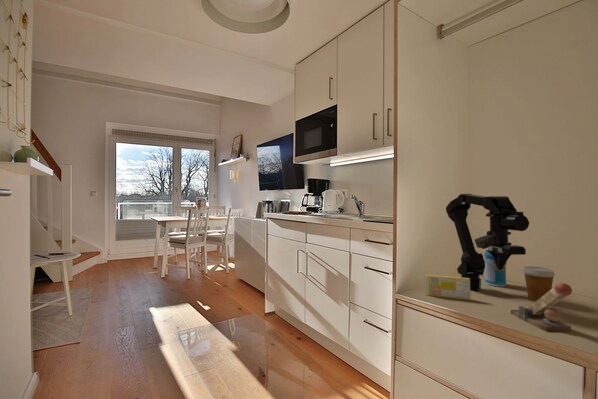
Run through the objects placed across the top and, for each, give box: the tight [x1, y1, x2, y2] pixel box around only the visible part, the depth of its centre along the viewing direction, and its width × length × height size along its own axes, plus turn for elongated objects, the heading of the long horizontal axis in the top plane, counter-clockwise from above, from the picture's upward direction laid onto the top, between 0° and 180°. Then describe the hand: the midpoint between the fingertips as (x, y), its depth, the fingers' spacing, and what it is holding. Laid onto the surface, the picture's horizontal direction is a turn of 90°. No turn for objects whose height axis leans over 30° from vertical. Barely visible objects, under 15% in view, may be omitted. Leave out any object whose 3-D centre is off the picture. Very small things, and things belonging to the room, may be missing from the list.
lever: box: [527, 282, 573, 315], centre depth 87 cm, size 4×4×17 cm
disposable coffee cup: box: [522, 265, 556, 302], centre depth 111 cm, size 10×10×12 cm
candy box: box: [424, 274, 472, 301], centre depth 115 cm, size 16×2×8 cm, turn 65°
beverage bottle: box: [483, 247, 507, 287], centre depth 132 cm, size 8×8×20 cm
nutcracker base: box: [510, 305, 572, 332], centre depth 91 cm, size 14×8×6 cm, turn 1°
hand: (499, 269), depth 110 cm, fingers closed
